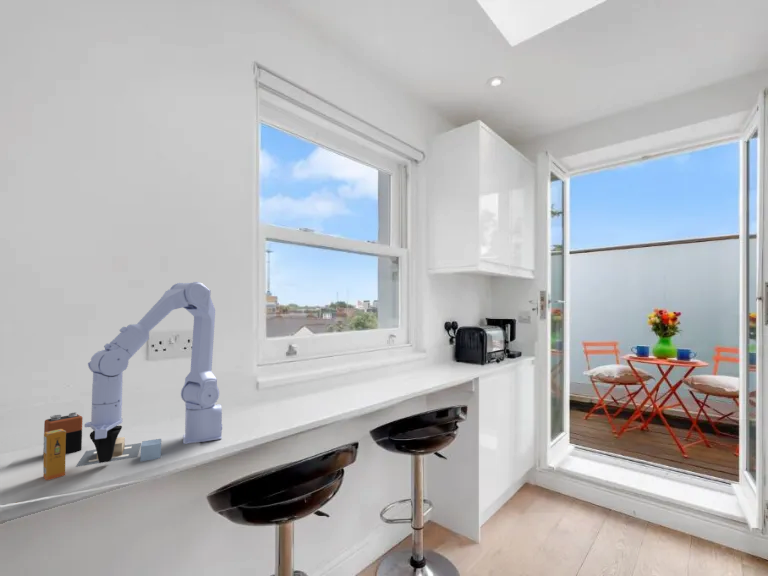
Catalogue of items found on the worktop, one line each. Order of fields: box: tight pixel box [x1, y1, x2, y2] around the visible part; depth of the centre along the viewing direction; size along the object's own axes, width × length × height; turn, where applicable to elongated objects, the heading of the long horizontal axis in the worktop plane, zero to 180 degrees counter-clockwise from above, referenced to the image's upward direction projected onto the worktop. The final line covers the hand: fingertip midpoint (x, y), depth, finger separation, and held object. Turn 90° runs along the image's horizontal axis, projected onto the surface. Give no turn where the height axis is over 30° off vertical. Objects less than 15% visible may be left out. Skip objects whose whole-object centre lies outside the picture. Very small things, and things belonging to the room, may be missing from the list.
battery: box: [42, 412, 83, 456], centre depth 96 cm, size 4×7×10 cm, turn 143°
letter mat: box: [75, 442, 142, 468], centre depth 95 cm, size 12×11×1 cm
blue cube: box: [140, 438, 162, 462], centre depth 93 cm, size 4×4×4 cm
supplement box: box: [42, 429, 66, 481], centre depth 83 cm, size 3×3×10 cm
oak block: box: [97, 436, 126, 459], centre depth 95 cm, size 5×5×3 cm
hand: (105, 461), depth 88 cm, fingers closed
